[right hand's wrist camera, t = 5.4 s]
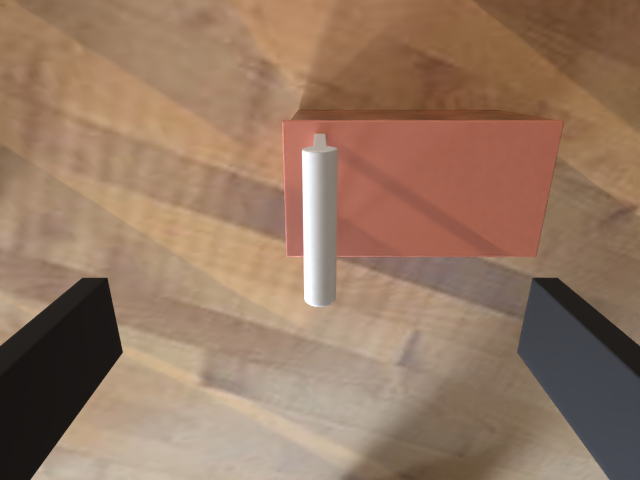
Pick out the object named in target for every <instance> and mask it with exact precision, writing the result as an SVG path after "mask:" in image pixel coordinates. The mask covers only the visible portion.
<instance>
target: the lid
mask: <svg viewBox="0 0 640 480" xmlns="http://www.w3.org/2000/svg"><path fill="white" fill-rule="evenodd" d="M563 124H564V122H563V121H558V120H284V121H283V122H282V128H283V160H284V191H285V222H286V253H287V257H304V299H305V301H306V302H307V303H308V304H310V305H312V306H318V307H322V306H328V305H330V304H332V303H333V302H334V301H335V299H336V257H536V255H537V250H538V245H539V240H540V235H541V230H542V226H543V221H544V216H545V211H546V206H547V201H548V197H549V192H550V187H551V182H552V177H553V172H554V168H555V163H556V158H557V153H558V148H559V143H560V138H561V134H562V129H563Z"/></svg>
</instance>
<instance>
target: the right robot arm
mask: <svg viewBox="0 0 640 480" xmlns="http://www.w3.org/2000/svg"><path fill="white" fill-rule="evenodd" d="M122 353H123V351H122V346H121V341H120V337H119V332H118V327H117V322H116V317H115V312H114V308H113V303H112V298H111V293H110V288H109V284H108V279H107V278H82V279H81V280H79V281H78V282H77V283H76V284H75V285H73V286H72V287H71V288H70V289H69V290H67V291H66V292H65V293H64V294H62V295H61V296H60V297H59V298H58V299H56V300H55V301H54V302H53V303H52V304H50V305H49V306H48V307H47V308H46V309H44V310H43V311H42V312H41V313H40V314H38V315H37V316H36V317H35V318H34V319H32V320H31V321H30V322H29V323H28V324H26V325H25V326H24V327H23V328H22V329H20V330H19V331H18V332H17V333H16V334H14V335H13V336H12V337H11V338H10V339H8V340H7V341H6V342H5V343H4V344H2V345H1V346H0V480H31V478H32V477H33V475H34V474H35V473H36V471H37V470H38V469H39V467H40V466H41V464H42V463H43V462H44V460H45V459H46V458H47V456H48V455H49V453H50V452H51V451H52V449H53V448H54V446H55V445H56V444H57V442H58V441H59V440H60V438H61V437H62V435H63V434H64V433H65V431H66V430H67V429H68V427H69V426H70V424H71V423H72V422H73V420H74V419H75V418H76V416H77V415H78V413H79V412H80V411H81V409H82V408H83V407H84V405H85V404H86V402H87V401H88V400H89V398H90V397H91V395H92V394H93V393H94V391H95V390H96V389H97V387H98V386H99V384H100V383H101V382H102V380H103V379H104V378H105V376H106V375H107V373H108V372H109V371H110V369H111V368H112V367H113V365H114V364H115V362H116V361H117V360H118V358H119V357H120V356H121V354H122ZM517 353H518V354H519V356H520V357H521V358H522V360H523V361H524V362H525V364H526V365H527V367H528V368H529V369H530V371H531V372H532V373H533V375H534V376H535V378H536V379H537V380H538V382H539V383H540V384H541V386H542V387H543V389H544V390H545V391H546V393H547V394H548V395H549V397H550V398H551V400H552V401H553V402H554V404H555V405H556V407H557V408H558V409H559V411H560V412H561V413H562V415H563V416H564V418H565V419H566V420H567V422H568V423H569V424H570V426H571V427H572V429H573V430H574V431H575V433H576V434H577V435H578V437H579V438H580V440H581V441H582V442H583V444H584V445H585V446H586V448H587V449H588V451H589V452H590V453H591V455H592V456H593V458H594V459H595V460H596V462H597V463H598V464H599V466H600V467H601V469H602V470H603V471H604V473H605V474H606V475H607V477H608V478H609V480H640V346H639V345H638V344H636V343H635V342H634V341H633V340H632V339H630V338H629V337H628V336H627V335H626V334H624V333H623V332H622V331H621V330H620V329H618V328H617V327H616V326H615V325H614V324H612V323H611V322H610V321H609V320H608V319H606V318H605V317H604V316H603V315H602V314H600V313H599V312H598V311H597V310H596V309H594V308H593V307H592V306H591V305H590V304H588V303H587V302H586V301H585V300H584V299H582V298H581V297H580V296H579V295H578V294H576V293H575V292H574V291H573V290H571V289H570V288H569V287H568V286H567V285H565V284H564V283H563V282H562V281H561V280H559V279H558V278H533V279H532V284H531V288H530V293H529V298H528V303H527V308H526V312H525V317H524V322H523V327H522V332H521V337H520V341H519V346H518V351H517Z"/></svg>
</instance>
